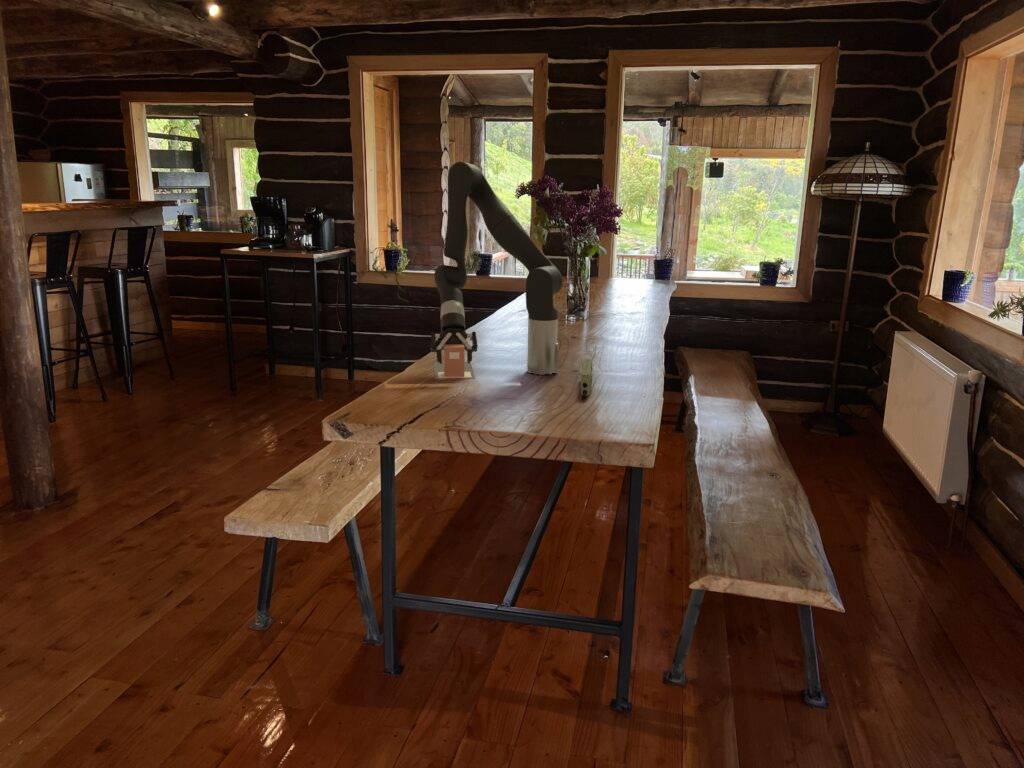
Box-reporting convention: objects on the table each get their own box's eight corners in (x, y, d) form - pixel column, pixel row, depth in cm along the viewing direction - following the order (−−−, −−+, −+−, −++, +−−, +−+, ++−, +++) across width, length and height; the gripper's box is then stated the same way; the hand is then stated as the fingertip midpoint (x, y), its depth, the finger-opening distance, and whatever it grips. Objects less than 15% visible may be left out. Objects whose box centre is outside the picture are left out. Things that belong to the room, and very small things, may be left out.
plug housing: (463, 372, 225) (463, 344, 223) (464, 376, 221) (464, 347, 219) (444, 372, 225) (443, 344, 222) (444, 376, 220) (444, 347, 218)
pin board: (470, 364, 240) (470, 353, 239) (475, 381, 219) (475, 369, 218) (433, 365, 239) (433, 353, 238) (435, 382, 217) (435, 370, 216)
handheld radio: (593, 379, 225) (590, 402, 201) (582, 379, 225) (578, 401, 201) (593, 358, 223) (590, 378, 199) (582, 358, 224) (578, 378, 200)
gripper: (429, 311, 224) (431, 356, 216) (476, 311, 226) (479, 355, 218) (429, 325, 231) (431, 369, 223) (474, 325, 233) (477, 368, 224)
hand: (454, 362), depth 220 cm, fingers open, 8 cm apart
